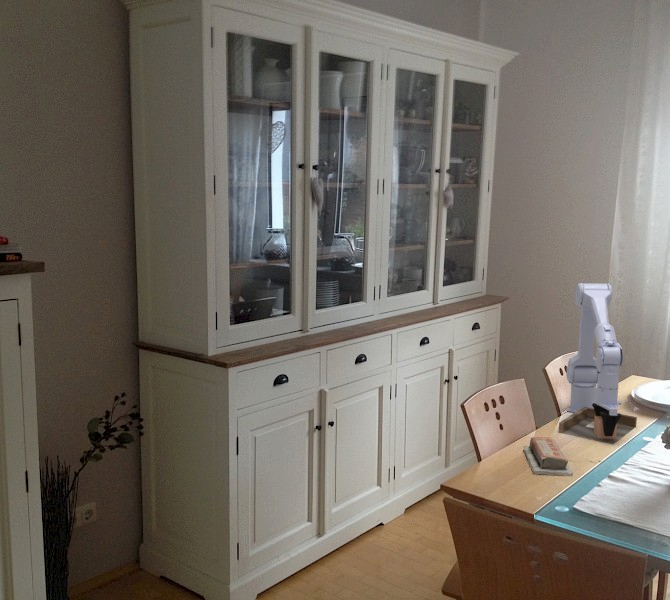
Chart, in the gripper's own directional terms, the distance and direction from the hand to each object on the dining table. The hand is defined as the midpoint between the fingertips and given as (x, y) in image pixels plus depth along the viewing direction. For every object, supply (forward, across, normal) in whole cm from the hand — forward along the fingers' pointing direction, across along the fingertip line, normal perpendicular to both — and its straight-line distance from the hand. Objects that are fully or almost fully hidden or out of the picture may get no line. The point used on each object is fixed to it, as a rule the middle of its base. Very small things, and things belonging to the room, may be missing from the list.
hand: (604, 431), depth 213 cm
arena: (+2, +5, +1) cm, 6 cm away
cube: (+1, 0, 0) cm, 1 cm away
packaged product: (+3, -20, +20) cm, 29 cm away
